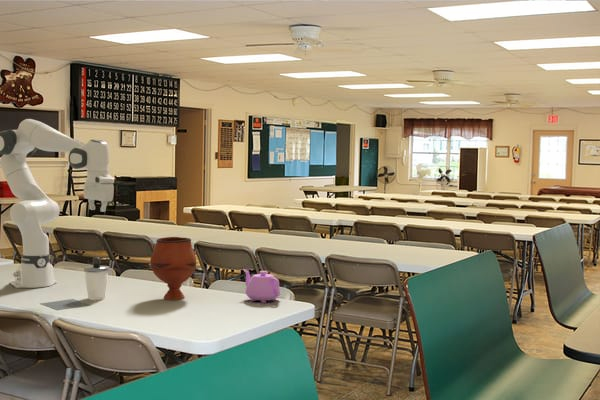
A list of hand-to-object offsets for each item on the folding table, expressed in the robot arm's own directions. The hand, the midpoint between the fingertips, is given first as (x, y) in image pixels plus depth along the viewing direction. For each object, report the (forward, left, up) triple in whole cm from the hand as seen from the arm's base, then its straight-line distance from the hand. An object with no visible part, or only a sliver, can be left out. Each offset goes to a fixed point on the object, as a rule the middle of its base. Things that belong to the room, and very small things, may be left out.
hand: (97, 210), depth 298 cm
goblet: (+28, +20, -36) cm, 50 cm away
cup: (+9, -5, -36) cm, 38 cm away
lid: (+9, -5, -24) cm, 26 cm away
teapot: (+55, +45, -36) cm, 80 cm away
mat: (+12, -20, -36) cm, 43 cm away
